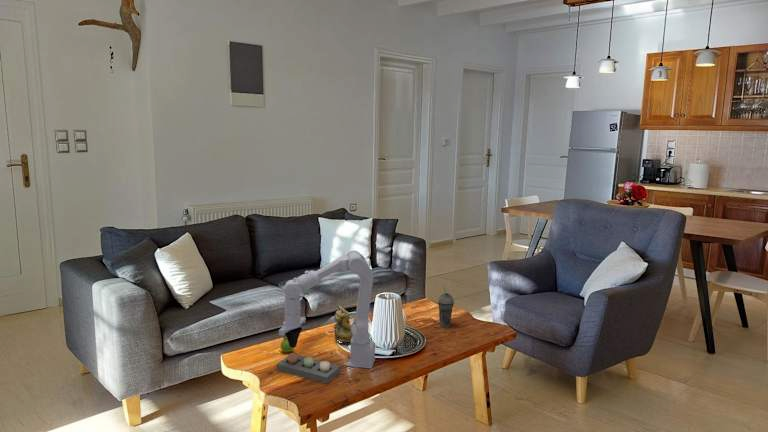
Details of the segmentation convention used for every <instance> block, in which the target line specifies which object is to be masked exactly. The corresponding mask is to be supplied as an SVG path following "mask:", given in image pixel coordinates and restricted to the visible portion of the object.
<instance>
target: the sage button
mask: <svg viewBox="0 0 768 432" xmlns="http://www.w3.org/2000/svg"><path fill="white" fill-rule="evenodd" d="M305 357H306V358H304V367H306V368H309V369H311V368H312V367H313V366H314V358H313V357H310V356H309V357H307V356H305Z"/></svg>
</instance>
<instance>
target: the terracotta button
mask: <svg viewBox="0 0 768 432" xmlns="http://www.w3.org/2000/svg"><path fill="white" fill-rule="evenodd" d="M287 357H288V363H290V364H294V365H295V364H296V363H298V353H295V352H292V353H291V352H290V353H288V355H287Z"/></svg>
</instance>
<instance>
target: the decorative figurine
mask: <svg viewBox="0 0 768 432" xmlns="http://www.w3.org/2000/svg"><path fill="white" fill-rule="evenodd" d="M337 307H338V310H336V312H335V314H334V316H333V318H334V320H335V322H336V323H335V324H334V325H333V329H334V338H335V339H336V341H337V340H339V341H340V342H348V341H350V342H351V338H352V336H353V335H352V333H351V329H350V328H351V325H352V323H351V321H350V317H351V314H350V313H349V312H348V311H347V310H346V309H345V308H343V306H341V305H337Z"/></svg>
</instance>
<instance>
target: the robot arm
mask: <svg viewBox="0 0 768 432" xmlns="http://www.w3.org/2000/svg"><path fill="white" fill-rule="evenodd" d="M348 270H349V271H350V272H351V273H353V274H355V275H357V276H358V277H359V285H358V292H357V293H358V296H357V303H356V309H355V315H354V318H353V322H352V323H351V328H350V329H351V333H352V335H353V336H352V338H351V341H350V351H349V352H350V354H349V355H350V357H349V361H348V363H347V364H346V365H347V367H354V368H362V369H363V368H364V369H372V368H373V365H374V363H375V361H376V355H375V354H376V343H375V342H374V341H370V338H371V335H370V332H369V328H370V327H369V315H370V306H371V297H372V292H373V291H372V290H373V285H374V276H375V275H374V273H373V271H372V269H371V268H370V265H369V264H368V262H367V260H366V258H365V257H364V255H362V253H360V252H359V251H357V250H350V251H348V252H347V253H344V254H342V255H340V256H339V257H337V258H336V259H334V260H332V261H331V262H329V263H328V264H326V265H324V266H323V267H321V268H319V269H317V270H313V269H312V270H311V269H310V270H305V271H304V274H302V275H299V276H298V277H294V278H293V279H290V280H289V279H288V280H287V281H286V282H285V284H284V286H283V289H284V321H283V322H282V326H281V327H280V329H278V335H279V336H281V337H282V336H284V335H286V337H287V339H288V342H289V346H290V347H293V348H296V347H297V343H298V341H299V336H301V335H300V334H301V333H302V330H303V328H302V327H301V326H302V324H305V323H306V320H307V319H306V317H305V316H301V300H300V298H301V297H300V296H301V293H304V292H305V291H307V290H310V289H311V288H313V287H315V286H317V285H319V283H320V280H321V279H323V278H325V277H328V276H330V275H332V274H334V273H335V272H338V271H343V272H348Z"/></svg>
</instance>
